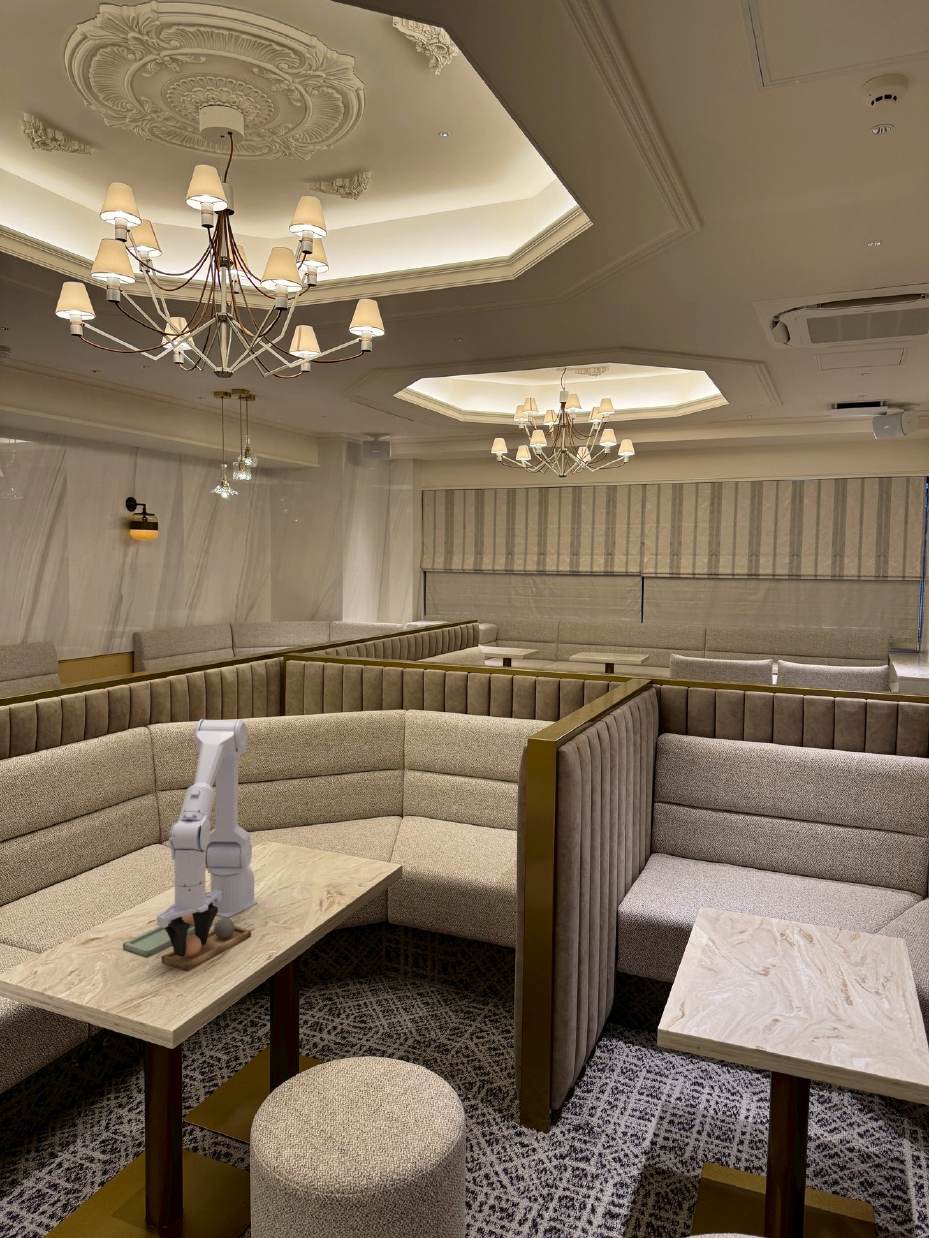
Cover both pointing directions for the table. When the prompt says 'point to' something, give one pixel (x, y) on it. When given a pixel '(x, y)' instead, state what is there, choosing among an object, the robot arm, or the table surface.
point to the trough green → (152, 941)
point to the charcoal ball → (224, 928)
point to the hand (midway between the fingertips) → (190, 949)
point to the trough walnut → (207, 949)
